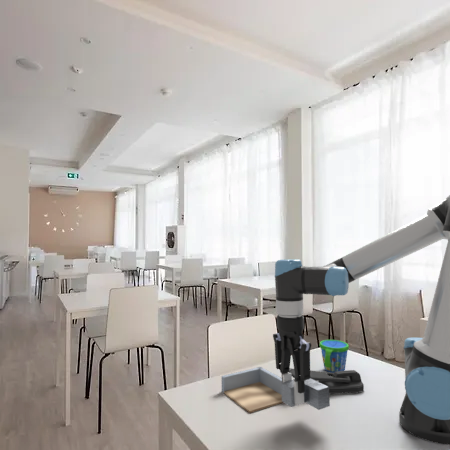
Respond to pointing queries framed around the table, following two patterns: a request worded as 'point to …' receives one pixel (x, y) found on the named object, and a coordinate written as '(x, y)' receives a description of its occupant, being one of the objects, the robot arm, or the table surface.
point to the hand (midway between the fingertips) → (293, 400)
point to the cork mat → (254, 396)
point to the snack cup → (334, 355)
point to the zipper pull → (338, 381)
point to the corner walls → (251, 379)
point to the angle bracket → (307, 394)
